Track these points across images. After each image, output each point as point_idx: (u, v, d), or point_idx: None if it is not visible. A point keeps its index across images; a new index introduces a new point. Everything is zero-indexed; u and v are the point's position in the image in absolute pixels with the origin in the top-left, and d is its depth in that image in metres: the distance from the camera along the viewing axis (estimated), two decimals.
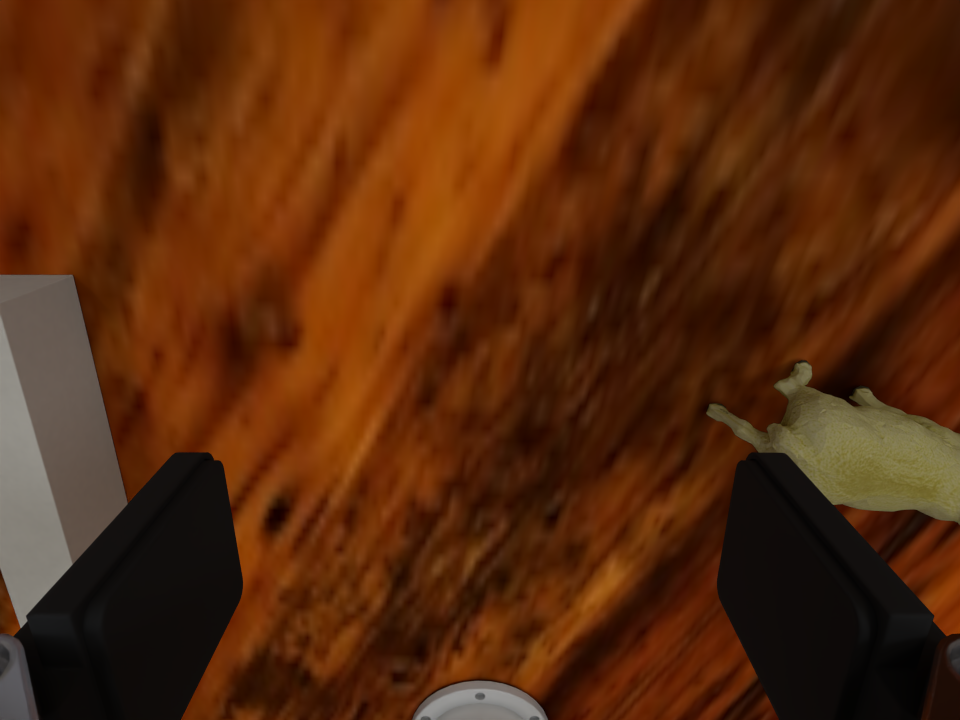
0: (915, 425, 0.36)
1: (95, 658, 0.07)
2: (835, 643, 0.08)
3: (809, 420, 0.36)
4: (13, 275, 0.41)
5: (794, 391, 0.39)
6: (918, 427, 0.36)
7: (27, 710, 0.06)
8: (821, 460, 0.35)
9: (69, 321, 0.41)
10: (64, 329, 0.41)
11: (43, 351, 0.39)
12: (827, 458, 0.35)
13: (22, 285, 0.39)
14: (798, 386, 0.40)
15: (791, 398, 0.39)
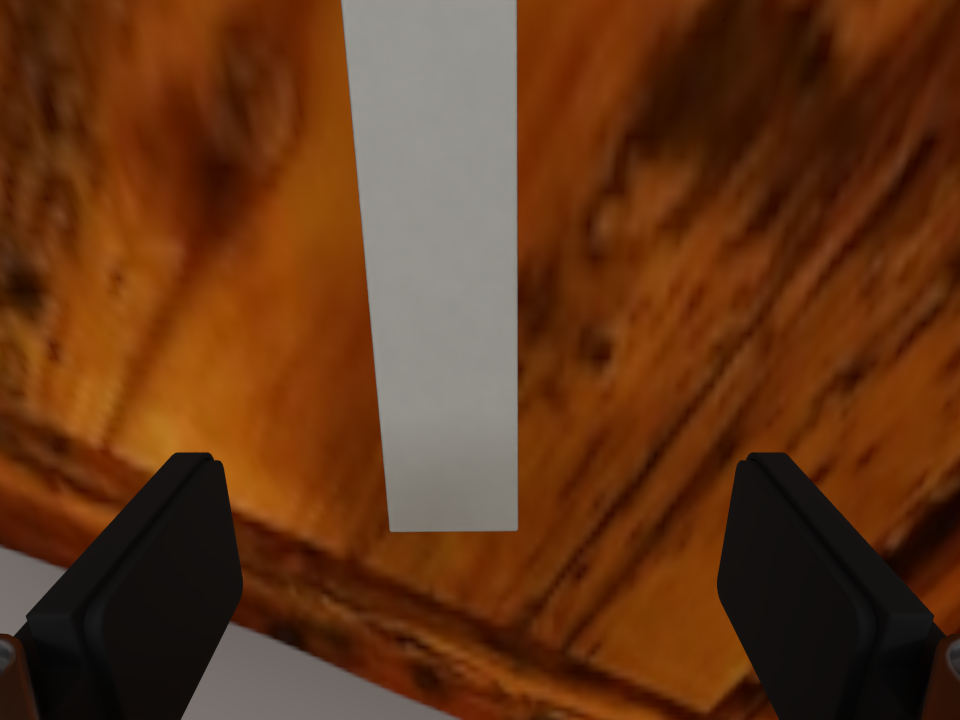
0: None
1: (95, 658, 0.07)
2: (835, 643, 0.08)
3: None
4: None
5: None
6: None
7: (27, 710, 0.06)
8: None
9: None
10: None
11: None
12: None
13: None
14: None
15: None
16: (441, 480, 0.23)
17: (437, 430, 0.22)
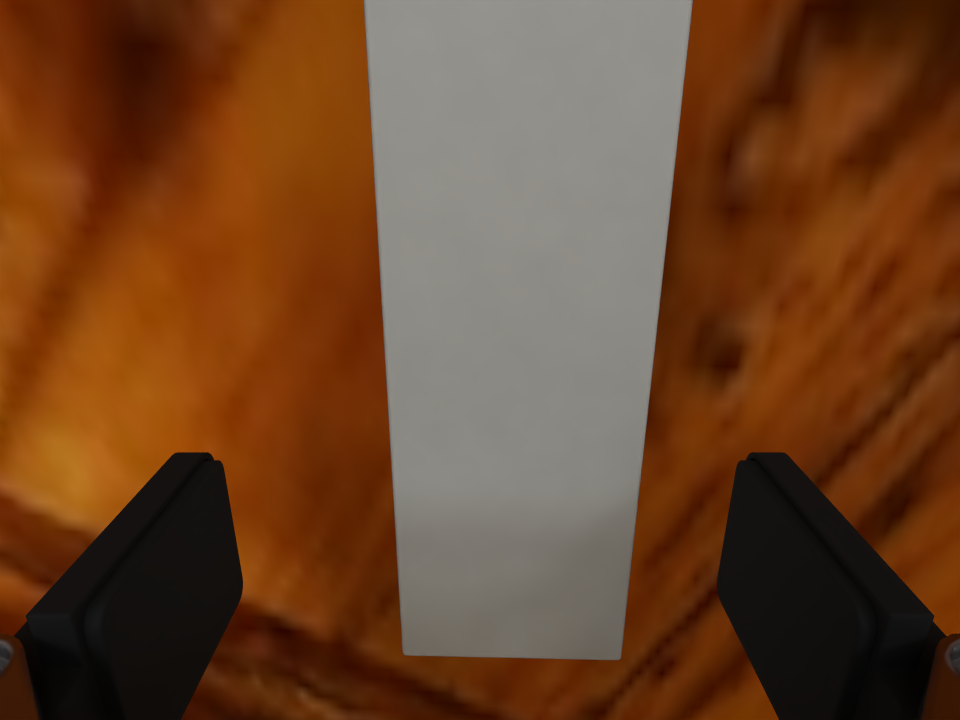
0: None
1: (95, 658, 0.07)
2: (835, 643, 0.08)
3: None
4: None
5: None
6: None
7: (26, 710, 0.06)
8: None
9: None
10: None
11: None
12: None
13: None
14: None
15: None
16: (495, 576, 0.13)
17: (495, 492, 0.12)
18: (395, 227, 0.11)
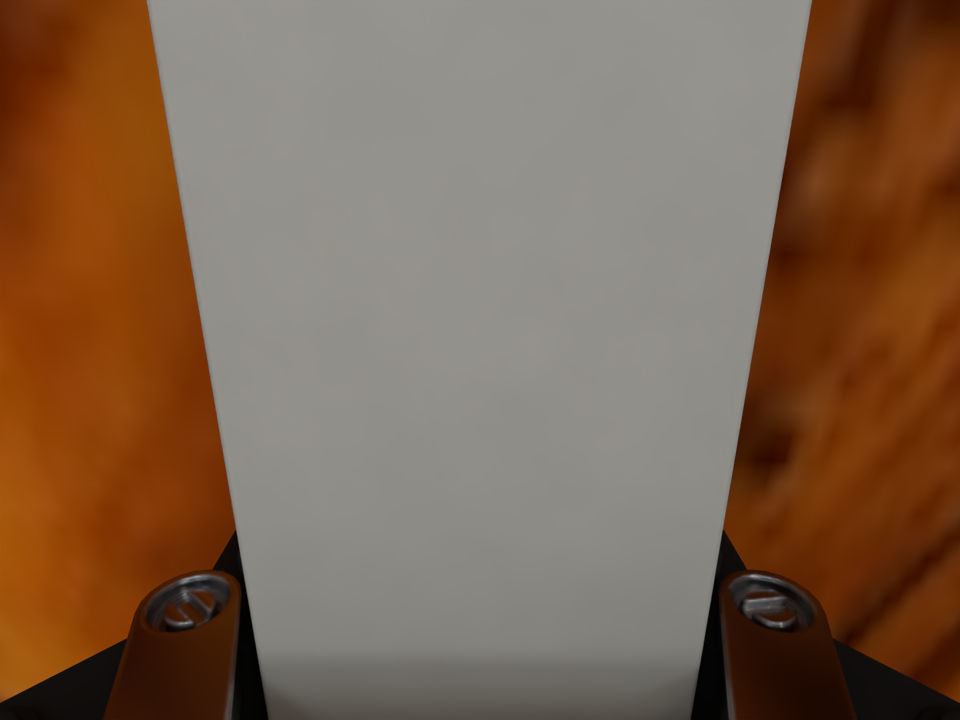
0: None
1: None
2: None
3: None
4: None
5: None
6: None
7: None
8: None
9: None
10: None
11: None
12: None
13: None
14: None
15: None
16: None
17: None
18: (238, 343, 0.06)
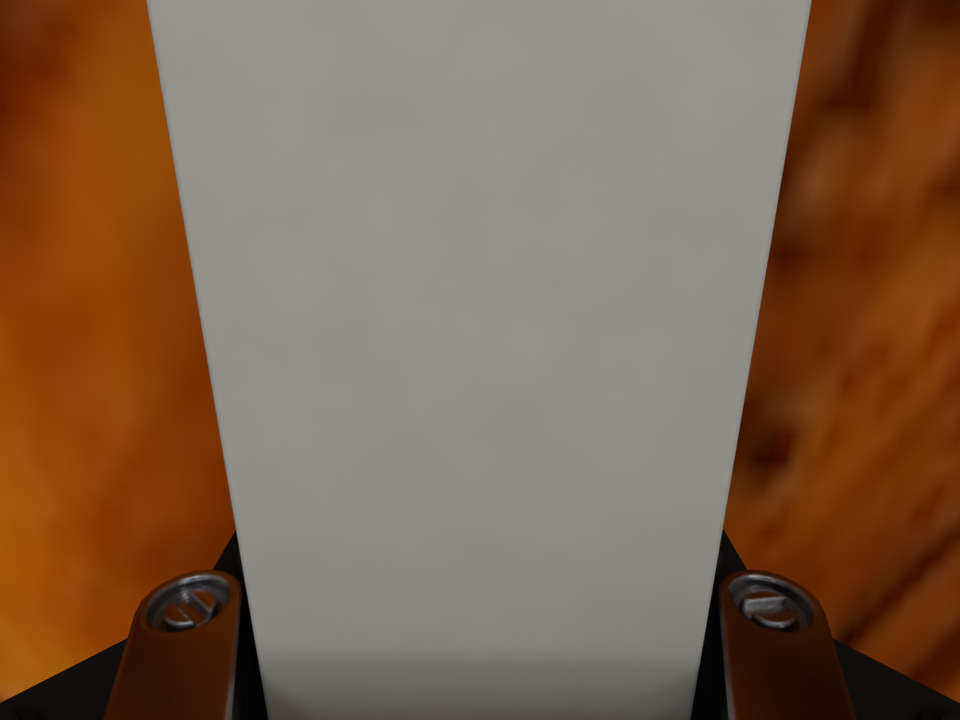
0: None
1: None
2: None
3: None
4: None
5: None
6: None
7: None
8: None
9: None
10: None
11: None
12: None
13: None
14: None
15: None
16: None
17: None
18: (237, 343, 0.06)
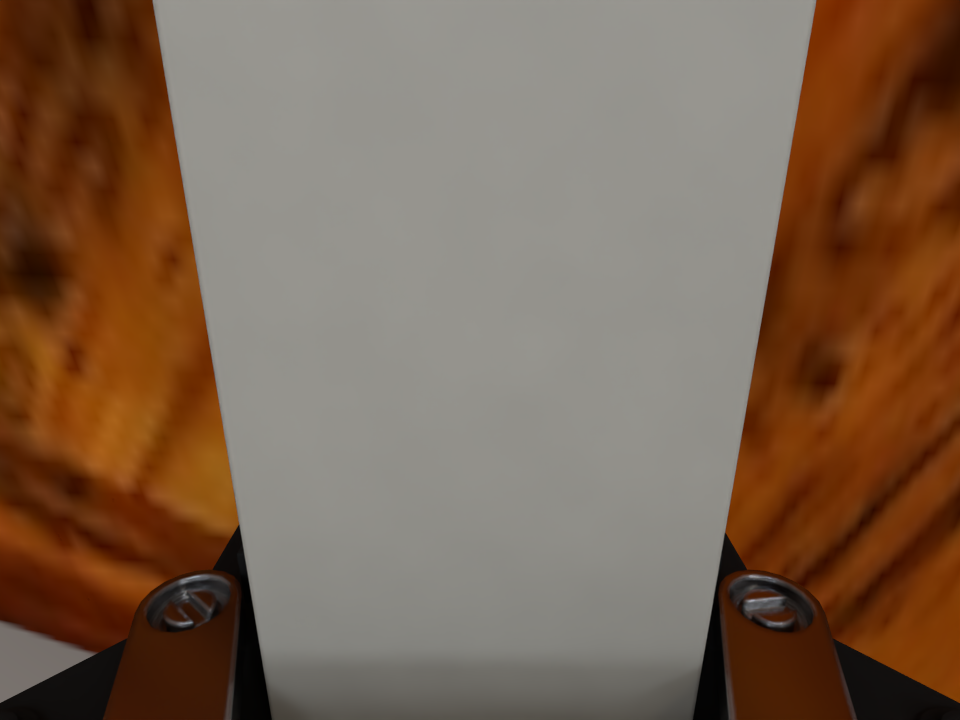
0: None
1: None
2: None
3: None
4: None
5: None
6: None
7: None
8: None
9: None
10: None
11: None
12: None
13: None
14: None
15: None
16: None
17: None
18: (243, 346, 0.06)
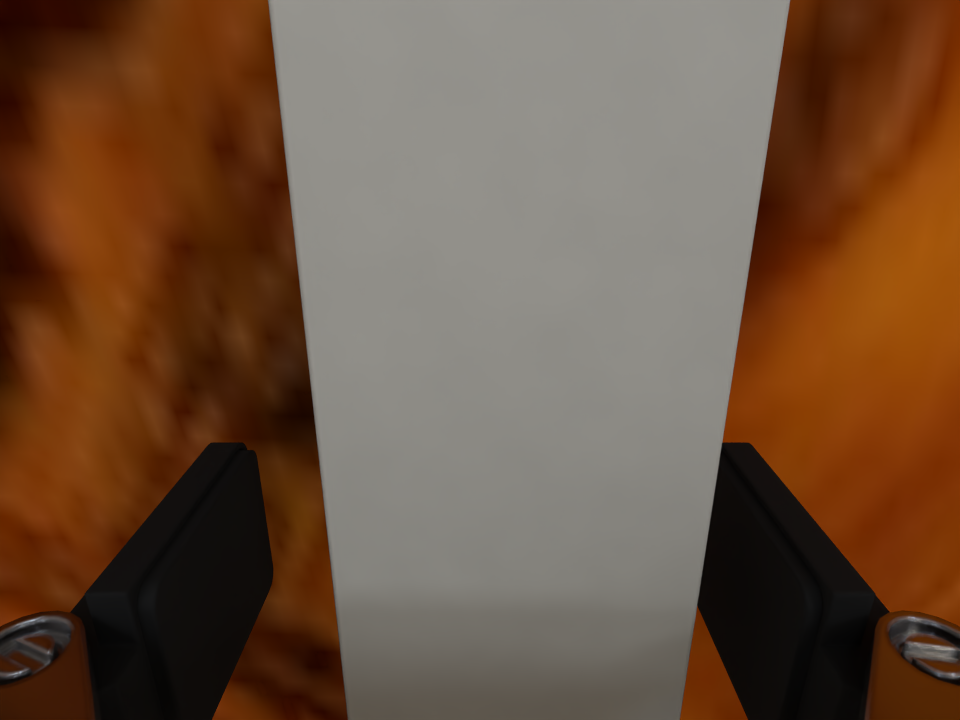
0: None
1: (148, 635, 0.08)
2: (785, 622, 0.08)
3: None
4: None
5: None
6: None
7: (93, 680, 0.07)
8: None
9: None
10: None
11: None
12: None
13: None
14: None
15: None
16: None
17: (487, 647, 0.09)
18: (327, 279, 0.07)
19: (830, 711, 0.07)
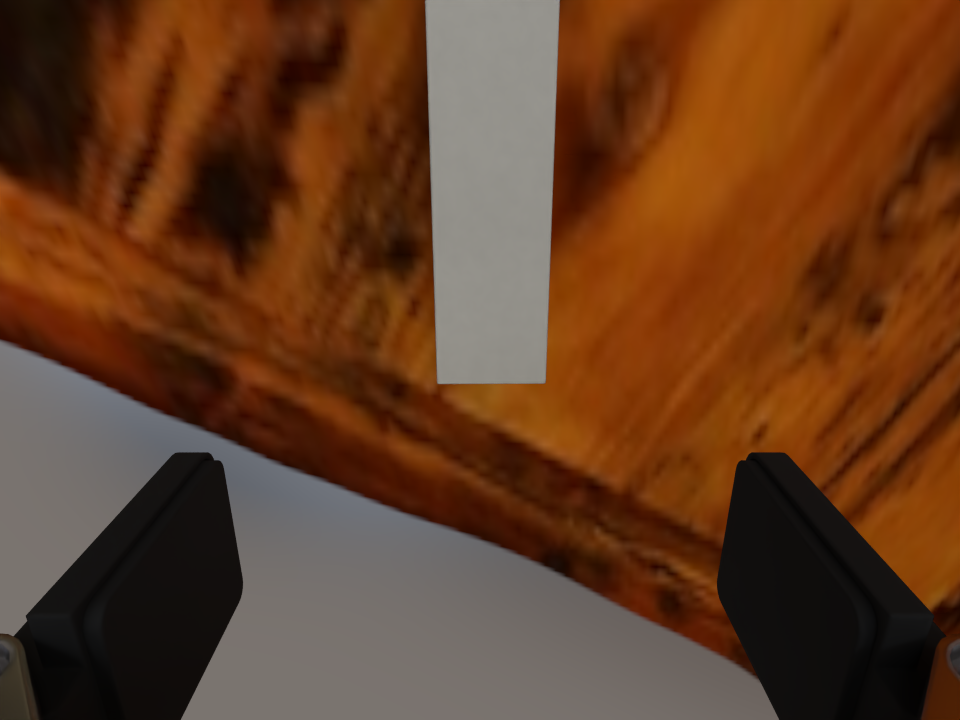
0: None
1: (95, 658, 0.07)
2: (835, 643, 0.08)
3: None
4: None
5: None
6: None
7: (27, 710, 0.06)
8: None
9: None
10: None
11: None
12: None
13: None
14: None
15: None
16: (482, 336, 0.27)
17: (482, 290, 0.27)
18: (438, 161, 0.25)
19: None
